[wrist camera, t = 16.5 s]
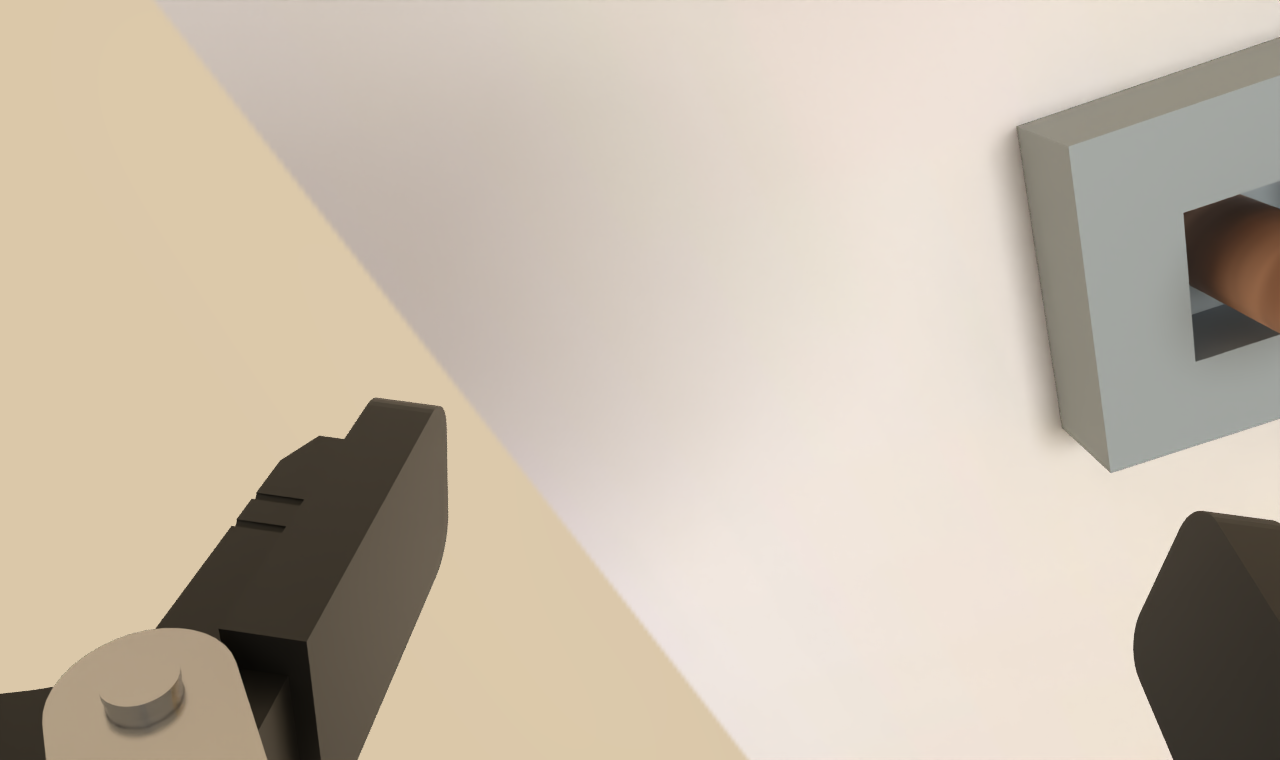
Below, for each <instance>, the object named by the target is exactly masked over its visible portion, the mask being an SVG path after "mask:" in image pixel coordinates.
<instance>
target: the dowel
mask: <svg viewBox="0 0 1280 760" xmlns="http://www.w3.org/2000/svg"><path fill="white" fill-rule="evenodd" d="M1183 215H1184V227H1185V240H1186V252H1187V264H1188V276H1189V285H1190V286H1192V287H1194V288H1196V289H1197V290H1199V291H1201V292H1203V293H1205V294H1207V295H1209V296H1211V297H1212V298H1214V299H1216V300H1218V301H1220V302H1222V303H1224V304H1225V305H1227V306H1229V307H1231V308H1233V309H1235V310H1237V311H1239V312H1240V313H1242V314H1244V315H1246V316H1248V317H1250V318H1252V319H1253V320H1255V321H1257V322H1259V323H1261V324H1263V325H1265V326H1267V327H1268V328H1270V329H1272V330H1274V331H1276V332H1278V333H1280V209H1279V208H1277V207H1274V206H1271V205H1268V204H1266V203H1263V202H1260V201H1258V200H1255V199H1252V198H1249V197H1247V196H1244V195H1241V194H1239V195H1236V196H1233V197H1230V198H1227V199H1224V200H1221V201H1218V202H1215V203H1212V204H1209V205H1206V206H1203V207H1200V208H1197V209H1194V210H1191V211H1188V212H1185V213H1183Z"/></svg>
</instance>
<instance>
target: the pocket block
mask: <svg viewBox="0 0 1280 760" xmlns="http://www.w3.org/2000/svg"><path fill="white" fill-rule="evenodd" d="M1017 131H1018V138H1019V145H1020V151H1021V158H1022V165H1023V171H1024V178H1025V184H1026V191H1027V198H1028V204H1029V211H1030V218H1031V224H1032V231H1033V238H1034V244H1035V251H1036V257H1037V264H1038V271H1039V277H1040V284H1041V291H1042V297H1043V304H1044V310H1045V317H1046V324H1047V330H1048V337H1049V344H1050V350H1051V357H1052V364H1053V370H1054V377H1055V383H1056V390H1057V397H1058V403H1059V410H1060V417H1061V423H1062V428H1063V429H1064V430H1065V431H1066V432H1067V433H1068V434H1069V435H1070V436H1072V437H1073V438H1074V439H1075V440H1076V441H1077V442H1078V443H1079V444H1080V445H1081V446H1082V447H1083V448H1084V449H1085V450H1087V451H1088V452H1089V453H1090V454H1091V455H1092V456H1093V457H1094V458H1095V459H1096V460H1097V461H1098V462H1099V463H1101V464H1102V465H1103V466H1104V467H1105V468H1106V469H1107V470H1108V471H1109V472H1110V473H1113V472H1116V471H1119V470H1122V469H1125V468H1128V467H1131V466H1134V465H1137V464H1141V463H1144V462H1147V461H1150V460H1153V459H1156V458H1159V457H1162V456H1165V455H1169V454H1172V453H1175V452H1178V451H1181V450H1184V449H1187V448H1190V447H1193V446H1196V445H1200V444H1203V443H1206V442H1209V441H1212V440H1215V439H1218V438H1221V437H1224V436H1228V435H1231V434H1234V433H1237V432H1240V431H1243V430H1246V429H1249V428H1252V427H1256V426H1259V425H1262V424H1265V423H1268V422H1271V421H1274V420H1277V419H1280V333H1278V332H1276V331H1274V330H1272V329H1270V328H1268V327H1267V326H1265V325H1263V324H1261V323H1259V322H1257V321H1255V320H1253V319H1252V318H1250V317H1248V316H1246V315H1244V314H1242V313H1240V312H1239V311H1237V310H1235V309H1233V308H1231V307H1229V306H1227V305H1225V304H1224V303H1222V302H1220V301H1218V300H1216V299H1214V298H1212V297H1211V296H1209V295H1207V294H1205V293H1203V292H1201V291H1199V290H1197V289H1196V288H1194V287H1192V286H1190V285H1189V276H1188V264H1187V252H1186V240H1185V227H1184V215H1183V213H1185V212H1188V211H1191V210H1194V209H1197V208H1200V207H1203V206H1206V205H1209V204H1212V203H1215V202H1218V201H1221V200H1224V199H1227V198H1230V197H1233V196H1236V195H1239V194H1241V195H1244V196H1247V197H1249V198H1252V199H1255V200H1258V201H1260V202H1263V203H1266V204H1268V205H1271V206H1274V207H1277V208H1279V209H1280V37H1279V38H1276V39H1273V40H1270V41H1267V42H1264V43H1261V44H1258V45H1255V46H1252V47H1249V48H1246V49H1243V50H1241V51H1238V52H1235V53H1232V54H1229V55H1226V56H1223V57H1220V58H1217V59H1214V60H1211V61H1208V62H1205V63H1202V64H1199V65H1196V66H1193V67H1190V68H1187V69H1184V70H1182V71H1179V72H1176V73H1173V74H1170V75H1167V76H1164V77H1161V78H1158V79H1155V80H1152V81H1149V82H1146V83H1143V84H1140V85H1137V86H1134V87H1131V88H1128V89H1125V90H1123V91H1120V92H1117V93H1114V94H1111V95H1108V96H1105V97H1102V98H1099V99H1096V100H1093V101H1090V102H1087V103H1084V104H1081V105H1078V106H1075V107H1072V108H1069V109H1066V110H1064V111H1061V112H1058V113H1055V114H1052V115H1049V116H1046V117H1043V118H1040V119H1037V120H1034V121H1031V122H1028V123H1025V124H1022V125H1019V126H1017Z"/></svg>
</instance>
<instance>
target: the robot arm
mask: <svg viewBox="0 0 1280 760" xmlns="http://www.w3.org/2000/svg"><path fill="white" fill-rule="evenodd" d="M446 430H447V429H446V416H445V412H444V410H443V408H442V407H441V406H434V405H427V404H419V403H412V402H404V401H397V400H389V399H382V398H373V399H372V400H371V401H370V402H369V403H368V404H367V406H366V407H365V409H364V410H363V412H362V413H361V415H360V417H359V418H358V419H357V421H356V422H355V424H354V425H353V427H352V429H351V430H350V431H349V433H348V434H347V436H346V438H345V439H339V438H332V437H324V436H318V437H317V438H315V439H313V440H312V441H310V442H309V443H307V444H306V445H304V446H302V447H301V448H299V449H298V450H296V451H295V452H293V453H292V454H290V455H288V456H287V457H285V458H284V459H282V460H281V461H280V462H279V463H278V464H277V466H276V467H275V468H274V470H273V471H272V472H271V474H270V475H269V476H268V478H267V479H266V480H265V482H264V483H263V484H262V486H261V487H260V488H259V490H258V491H257V495H256V499H251V501H250V502H249V503H248V505H247V506H246V507H245V509H244V510H243V511H242V513H241V514H240V516H239V517H238V518H237V523H236V526H231V528H230V529H229V530H228V532H227V533H226V534H225V536H224V537H223V538H222V540H221V541H220V543H219V544H218V545H217V547H216V548H215V549H214V551H213V552H212V553H211V555H210V556H209V557H208V559H207V560H206V561H205V563H204V564H203V565H202V567H201V568H200V569H199V571H198V572H197V573H196V575H195V576H194V578H193V579H192V580H191V582H190V583H189V584H188V586H187V587H186V588H185V590H184V591H183V592H182V594H181V595H180V596H179V598H178V599H177V600H176V602H175V603H174V605H173V606H172V607H171V609H170V610H169V611H168V613H167V614H166V615H165V617H164V618H163V619H162V621H161V622H160V623H159V625H158V626H157V627H156V629H153V630H146V631H141V632H137V633H133V634H129V635H127V636H124V637H121V638H118V639H115V640H113V641H111V642H109V643H107V644H104V645H102V646H100V647H99V648H97V649H95V650H94V651H92V652H90V653H89V654H87V655H85V656H84V657H83V658H81V659H80V660H79V661H78V662H77V663H75V664H74V665H72V666H71V667H70V668H69V669H68V670H67V672H65V673H64V674H63V675H62V676H61V678H60V679H59V680H58V682H57V683H56V684H55V686H54V687H50V688H44V689H38V690H31V691H22V692H14V693H4V694H0V760H357V759H358V757H359V755H360V752H361V750H362V748H363V745H364V743H365V741H366V739H367V736H368V734H369V732H370V729H371V727H372V725H373V722H374V720H375V718H376V715H377V713H378V710H379V708H380V705H381V704H382V701H383V699H384V697H385V694H386V692H387V690H388V687H389V685H390V682H391V680H392V678H393V675H394V673H395V671H396V669H397V666H398V664H399V661H400V659H401V657H402V654H403V652H404V650H405V648H406V645H407V643H408V640H409V638H410V636H411V634H412V631H413V629H414V627H415V624H416V622H417V619H418V617H419V615H420V613H421V610H422V608H423V605H424V603H425V601H426V598H427V596H428V594H429V592H430V589H431V587H432V584H433V582H434V580H435V578H436V575H437V573H438V570H439V567H440V564H441V560H442V556H443V552H444V547H445V542H446V535H447V525H448V486H447V431H446ZM1133 651H1134V662H1135V667H1136V671H1137V675H1138V677H1139V680H1140V682H1141V685H1142V687H1143V689H1144V692H1145V694H1146V696H1147V699H1148V701H1149V704H1150V706H1151V708H1152V711H1153V713H1154V715H1155V718H1156V720H1157V722H1158V725H1159V727H1160V729H1161V732H1162V734H1163V737H1164V739H1165V741H1166V744H1167V746H1168V748H1169V751H1170V753H1171V755H1172V758H1173V760H1280V523H1278V522H1276V521H1273V520H1266V519H1258V518H1251V517H1243V516H1236V515H1229V514H1221V513H1214V512H1206V511H1197V512H1194V513H1192V514H1191V515H1189V516H1188V517H1187V518H1186V520H1185V521H1184V522H1183V524H1182V526H1181V527H1180V529H1179V531H1178V534H1177V536H1176V538H1175V540H1174V542H1173V544H1172V546H1171V548H1170V551H1169V553H1168V555H1167V557H1166V559H1165V561H1164V563H1163V565H1162V568H1161V570H1160V572H1159V574H1158V576H1157V578H1156V580H1155V582H1154V585H1153V587H1152V589H1151V591H1150V593H1149V595H1148V597H1147V599H1146V602H1145V604H1144V606H1143V608H1142V610H1141V612H1140V615H1139V617H1138V620H1137V623H1136V627H1135V633H1134V643H1133Z"/></svg>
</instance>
